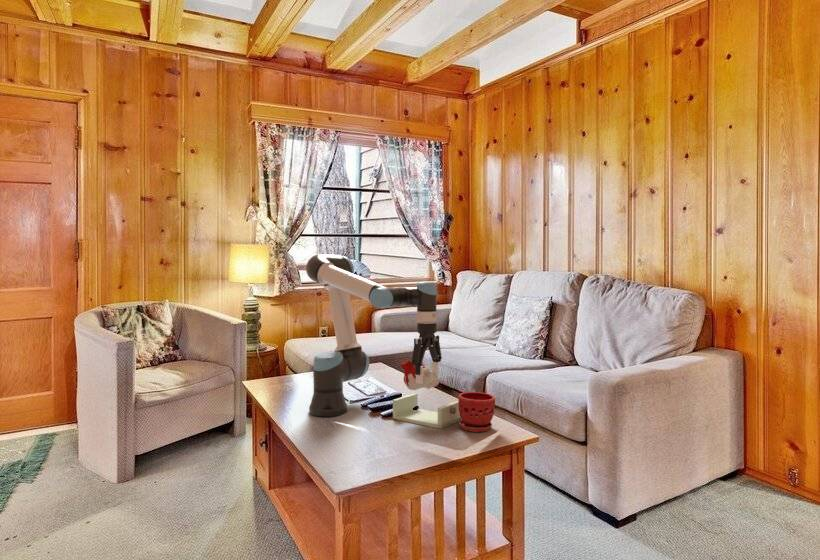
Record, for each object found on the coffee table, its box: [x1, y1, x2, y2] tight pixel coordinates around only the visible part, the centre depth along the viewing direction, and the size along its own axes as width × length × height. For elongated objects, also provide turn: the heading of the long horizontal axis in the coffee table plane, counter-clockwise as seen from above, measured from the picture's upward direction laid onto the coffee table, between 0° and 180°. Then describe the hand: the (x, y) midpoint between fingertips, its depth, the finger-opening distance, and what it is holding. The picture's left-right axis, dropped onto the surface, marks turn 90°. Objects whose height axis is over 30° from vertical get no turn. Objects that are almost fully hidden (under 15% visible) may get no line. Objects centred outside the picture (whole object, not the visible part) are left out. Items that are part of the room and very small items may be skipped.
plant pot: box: [457, 391, 496, 433], centre depth 183 cm, size 13×13×12 cm
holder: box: [392, 393, 462, 430], centre depth 194 cm, size 25×14×7 cm, turn 53°
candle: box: [400, 360, 440, 391], centre depth 196 cm, size 9×11×15 cm
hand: (427, 381), depth 194 cm, fingers closed on candle, 9 cm apart
